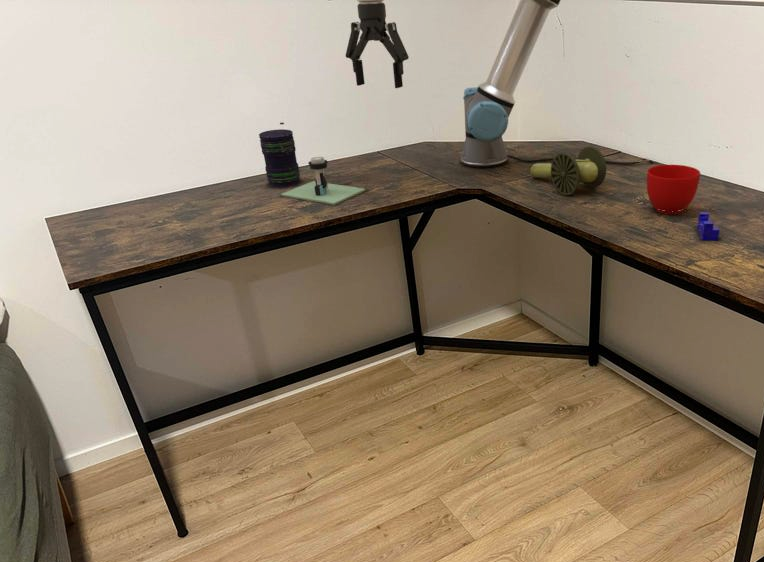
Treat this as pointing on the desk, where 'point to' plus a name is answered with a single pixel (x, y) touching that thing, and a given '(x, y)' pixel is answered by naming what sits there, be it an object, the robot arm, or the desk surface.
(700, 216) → the blue stepped block
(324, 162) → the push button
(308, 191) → the desk mat
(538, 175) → the cannon
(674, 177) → the ceramic cup
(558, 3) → the robot arm
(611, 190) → the desk surface
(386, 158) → the desk surface
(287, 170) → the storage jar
